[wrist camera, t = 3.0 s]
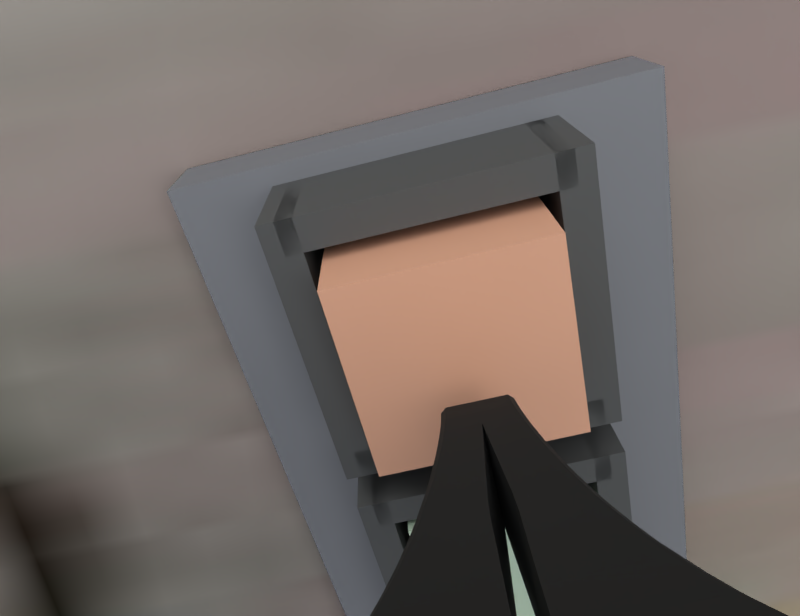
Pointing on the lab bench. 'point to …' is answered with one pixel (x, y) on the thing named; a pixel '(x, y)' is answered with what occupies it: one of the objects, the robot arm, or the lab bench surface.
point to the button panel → (431, 201)
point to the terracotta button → (456, 326)
